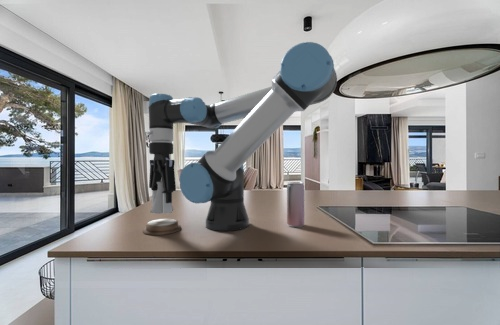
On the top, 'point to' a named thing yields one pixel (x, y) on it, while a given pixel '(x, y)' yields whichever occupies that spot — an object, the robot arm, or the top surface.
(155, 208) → the flask
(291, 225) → the beverage can
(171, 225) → the pedestal
